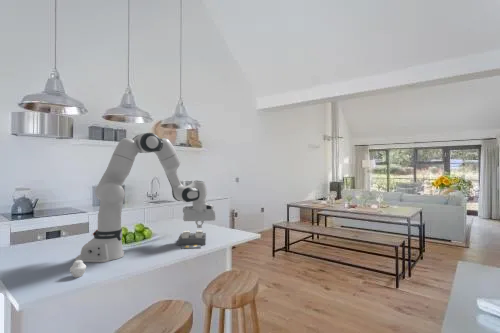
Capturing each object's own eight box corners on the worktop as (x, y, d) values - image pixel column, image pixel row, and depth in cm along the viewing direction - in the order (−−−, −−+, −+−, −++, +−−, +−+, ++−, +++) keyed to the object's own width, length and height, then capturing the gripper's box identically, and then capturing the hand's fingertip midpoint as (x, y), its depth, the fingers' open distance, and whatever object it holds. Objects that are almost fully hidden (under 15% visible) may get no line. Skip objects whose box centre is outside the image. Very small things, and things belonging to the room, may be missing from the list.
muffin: (83, 272, 129) (83, 256, 129) (88, 275, 125) (88, 259, 125) (67, 276, 125) (67, 260, 124) (72, 280, 120) (72, 263, 120)
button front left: (181, 240, 174) (181, 235, 174) (182, 238, 178) (182, 233, 178) (188, 239, 174) (188, 234, 174) (189, 238, 178) (189, 233, 178)
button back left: (182, 237, 181) (182, 232, 181) (183, 235, 185) (183, 230, 185) (189, 236, 181) (189, 232, 181) (190, 235, 185) (190, 230, 185)
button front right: (195, 239, 175) (195, 234, 175) (195, 237, 179) (195, 233, 179) (202, 239, 175) (202, 234, 175) (202, 237, 179) (202, 232, 179)
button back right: (195, 236, 182) (195, 232, 182) (196, 235, 186) (196, 230, 186) (202, 236, 182) (202, 231, 182) (202, 235, 186) (202, 230, 186)
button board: (178, 245, 172) (178, 239, 172) (180, 239, 186) (180, 233, 186) (205, 245, 174) (205, 238, 174) (205, 239, 188) (205, 232, 188)
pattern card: (181, 248, 166) (181, 247, 166) (182, 246, 171) (182, 244, 171) (200, 248, 167) (200, 246, 167) (200, 245, 172) (200, 244, 172)
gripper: (182, 207, 179) (182, 229, 180) (215, 206, 182) (215, 228, 182) (183, 205, 186) (183, 227, 186) (215, 205, 188) (215, 226, 188)
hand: (199, 227), depth 184 cm, fingers closed
